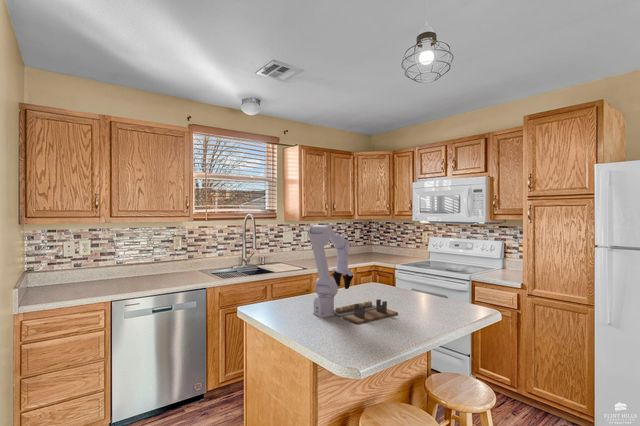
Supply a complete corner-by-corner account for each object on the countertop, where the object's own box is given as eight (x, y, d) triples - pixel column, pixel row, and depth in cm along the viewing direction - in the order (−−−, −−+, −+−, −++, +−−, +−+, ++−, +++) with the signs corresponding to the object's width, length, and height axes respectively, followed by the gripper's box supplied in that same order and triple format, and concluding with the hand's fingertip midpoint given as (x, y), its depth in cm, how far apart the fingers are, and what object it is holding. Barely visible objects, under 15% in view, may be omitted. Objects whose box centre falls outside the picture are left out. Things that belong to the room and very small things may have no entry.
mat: (339, 317, 159) (339, 315, 159) (328, 312, 167) (328, 311, 167) (379, 308, 174) (379, 307, 174) (367, 304, 182) (367, 303, 182)
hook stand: (356, 324, 149) (356, 309, 149) (342, 318, 157) (342, 304, 157) (397, 314, 164) (397, 301, 164) (383, 309, 172) (383, 296, 172)
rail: (338, 313, 163) (338, 308, 163) (335, 312, 165) (335, 307, 165) (372, 306, 176) (372, 301, 176) (369, 305, 178) (368, 300, 178)
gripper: (357, 262, 176) (357, 289, 176) (340, 259, 188) (340, 284, 188) (346, 263, 172) (346, 290, 172) (329, 260, 184) (329, 285, 184)
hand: (342, 287), depth 180 cm, fingers open, 7 cm apart
